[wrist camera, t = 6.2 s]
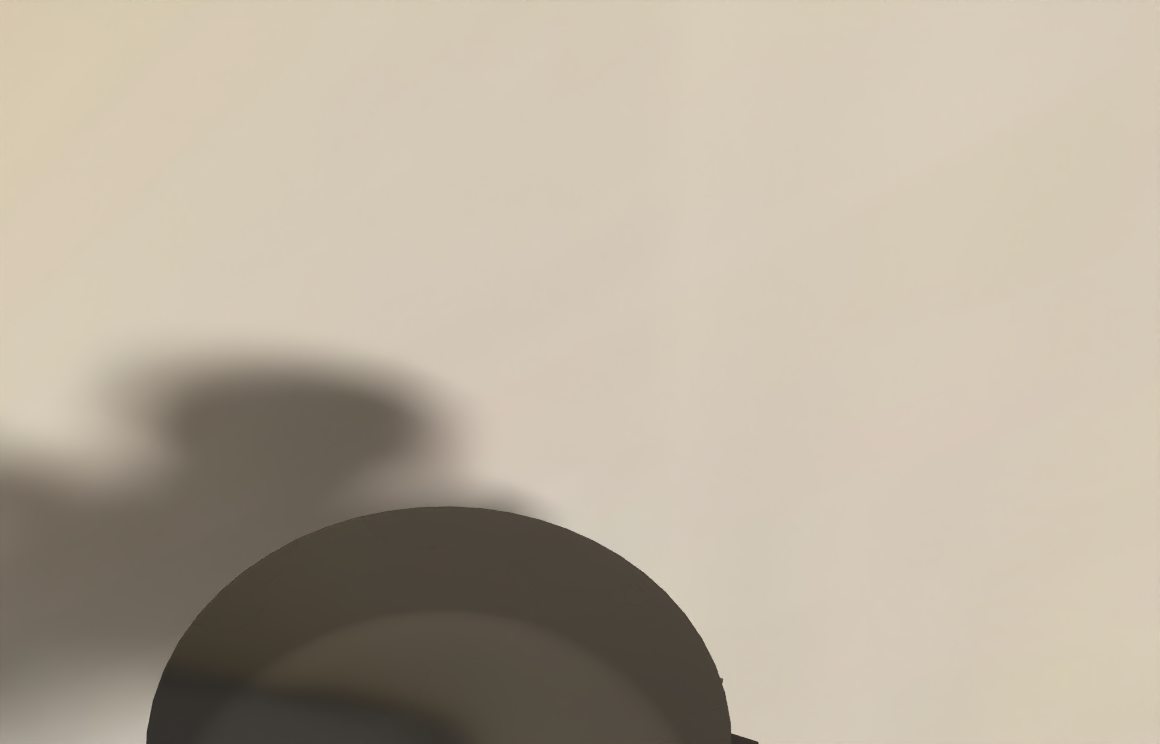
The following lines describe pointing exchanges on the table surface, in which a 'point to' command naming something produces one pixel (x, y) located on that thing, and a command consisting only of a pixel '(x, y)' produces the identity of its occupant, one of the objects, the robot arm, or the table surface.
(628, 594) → the shaft
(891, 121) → the table surface
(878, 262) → the table surface
